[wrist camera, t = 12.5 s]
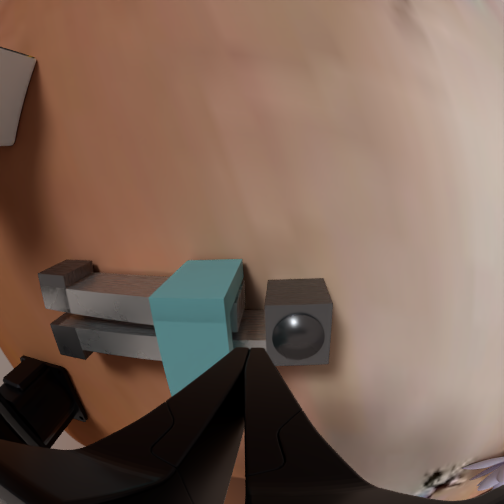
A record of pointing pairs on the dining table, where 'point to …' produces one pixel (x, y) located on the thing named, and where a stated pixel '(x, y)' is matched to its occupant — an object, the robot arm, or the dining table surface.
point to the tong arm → (109, 293)
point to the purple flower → (496, 478)
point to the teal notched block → (195, 317)
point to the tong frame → (249, 333)
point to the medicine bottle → (12, 91)
